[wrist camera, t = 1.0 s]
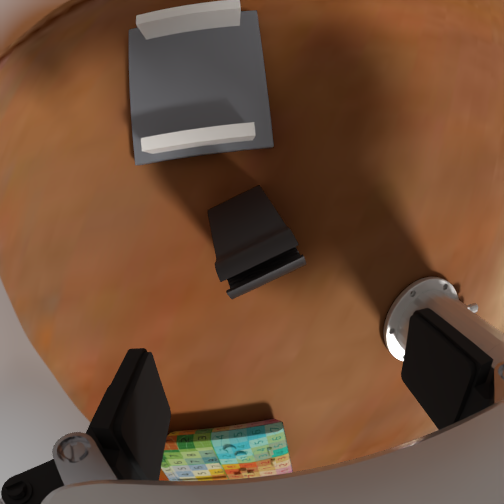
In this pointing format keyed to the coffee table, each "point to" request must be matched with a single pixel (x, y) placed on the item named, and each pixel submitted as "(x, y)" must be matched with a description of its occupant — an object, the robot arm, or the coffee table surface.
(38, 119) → the coffee table surface
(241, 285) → the phone stand
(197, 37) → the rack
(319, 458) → the coffee table surface
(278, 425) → the puzzle game
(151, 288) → the coffee table surface
